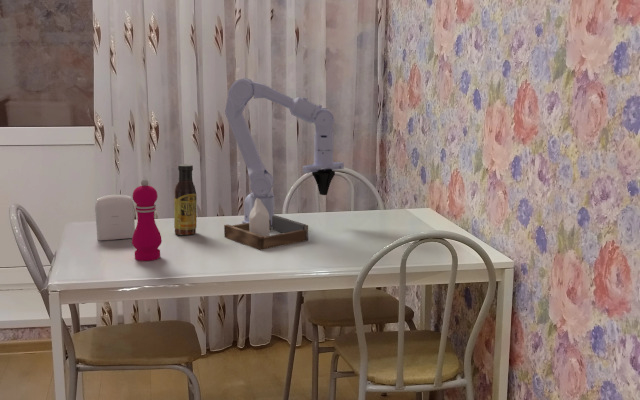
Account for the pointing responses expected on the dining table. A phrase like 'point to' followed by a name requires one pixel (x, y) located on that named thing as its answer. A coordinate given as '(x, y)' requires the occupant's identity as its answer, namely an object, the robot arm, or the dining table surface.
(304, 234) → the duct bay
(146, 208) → the pepper mill
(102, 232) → the photo printer
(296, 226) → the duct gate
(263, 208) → the beige pointed upright block
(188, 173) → the sauce bottle
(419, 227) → the dining table surface
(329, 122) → the robot arm
